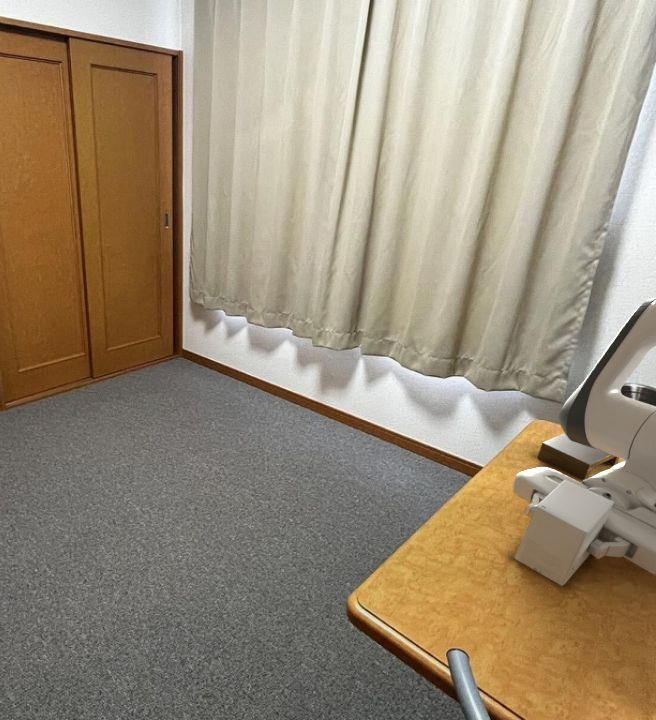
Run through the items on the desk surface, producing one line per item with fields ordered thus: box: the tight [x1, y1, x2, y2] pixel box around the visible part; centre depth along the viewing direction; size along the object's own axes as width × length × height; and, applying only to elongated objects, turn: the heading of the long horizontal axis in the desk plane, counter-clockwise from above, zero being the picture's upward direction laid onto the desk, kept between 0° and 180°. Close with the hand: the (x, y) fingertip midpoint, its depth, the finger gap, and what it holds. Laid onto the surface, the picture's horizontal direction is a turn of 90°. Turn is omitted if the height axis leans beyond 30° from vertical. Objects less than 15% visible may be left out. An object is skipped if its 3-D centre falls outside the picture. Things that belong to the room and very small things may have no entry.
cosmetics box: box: [514, 480, 614, 587], centre depth 69 cm, size 10×6×10 cm, turn 124°
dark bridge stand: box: [537, 432, 620, 481], centre depth 91 cm, size 8×11×4 cm
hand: (560, 531), depth 68 cm, fingers closed on cosmetics box, 7 cm apart
